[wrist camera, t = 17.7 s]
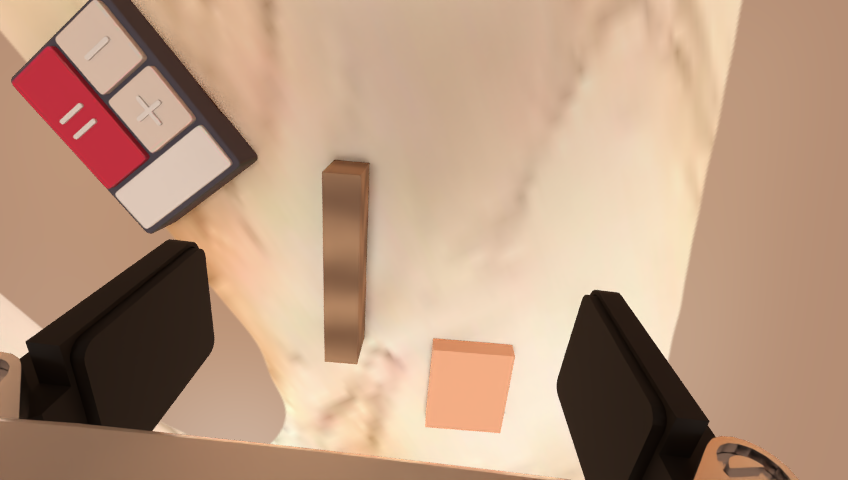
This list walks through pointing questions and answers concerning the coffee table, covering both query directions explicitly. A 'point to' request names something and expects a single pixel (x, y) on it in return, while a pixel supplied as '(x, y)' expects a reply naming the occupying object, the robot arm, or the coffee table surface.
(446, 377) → the tile
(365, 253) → the stick
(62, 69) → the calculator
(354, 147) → the coffee table surface
